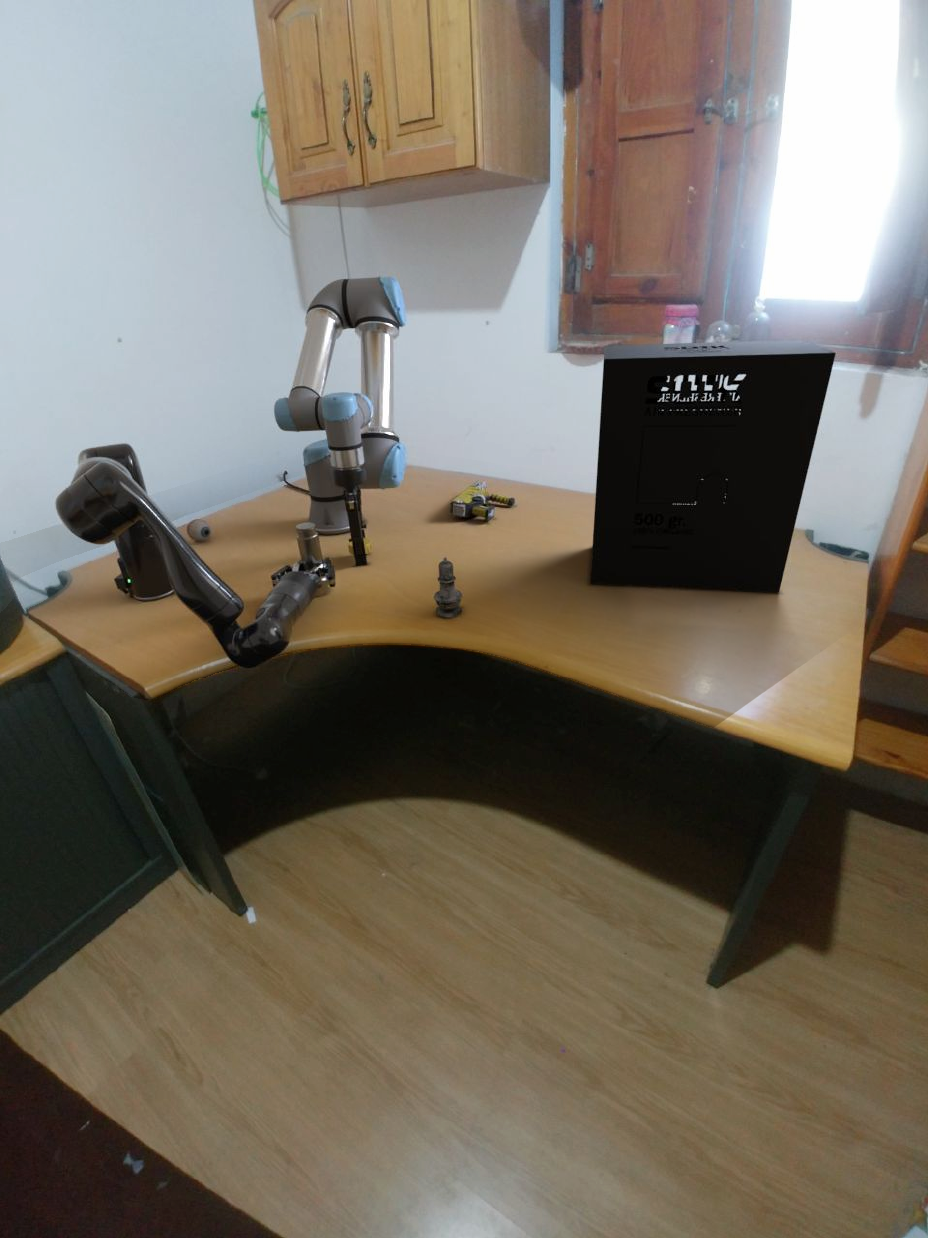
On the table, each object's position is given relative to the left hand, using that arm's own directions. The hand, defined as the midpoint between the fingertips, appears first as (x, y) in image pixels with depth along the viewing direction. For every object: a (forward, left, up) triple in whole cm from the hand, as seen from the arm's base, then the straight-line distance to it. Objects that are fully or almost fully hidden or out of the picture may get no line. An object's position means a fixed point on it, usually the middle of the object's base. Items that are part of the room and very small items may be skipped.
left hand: (317, 561), depth 133 cm
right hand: (+6, +14, -6) cm, 17 cm away
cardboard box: (+80, +9, -6) cm, 80 cm away
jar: (0, -3, -6) cm, 7 cm away
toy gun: (+34, +50, -6) cm, 61 cm away
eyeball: (-42, +27, -6) cm, 50 cm away
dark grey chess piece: (+30, -11, -6) cm, 33 cm away
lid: (+6, +15, -2) cm, 16 cm away
